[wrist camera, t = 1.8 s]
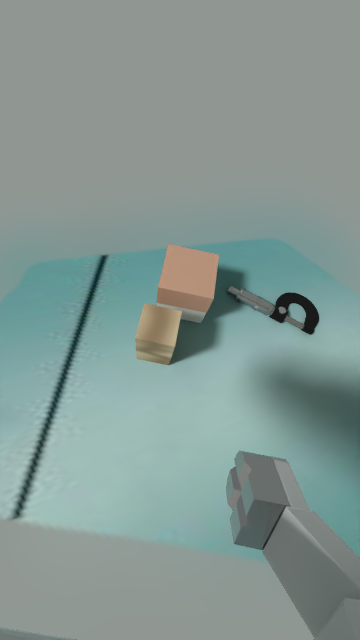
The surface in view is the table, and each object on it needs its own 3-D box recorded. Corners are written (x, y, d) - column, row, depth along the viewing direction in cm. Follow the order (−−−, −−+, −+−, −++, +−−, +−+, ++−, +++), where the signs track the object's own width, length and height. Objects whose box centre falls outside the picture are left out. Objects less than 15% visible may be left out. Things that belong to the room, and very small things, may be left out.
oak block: (174, 335, 38) (181, 311, 31) (168, 365, 36) (175, 346, 29) (144, 329, 38) (144, 303, 31) (136, 358, 36) (135, 338, 29)
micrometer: (320, 307, 44) (329, 299, 42) (309, 341, 41) (318, 335, 39) (240, 266, 45) (245, 257, 43) (224, 296, 42) (228, 288, 40)
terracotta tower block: (212, 272, 39) (219, 254, 35) (206, 313, 36) (213, 298, 32) (166, 262, 39) (168, 243, 35) (156, 302, 36) (158, 287, 32)
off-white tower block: (206, 285, 43) (212, 271, 39) (200, 324, 40) (206, 312, 36) (164, 276, 42) (166, 261, 39) (155, 314, 39) (156, 301, 36)
